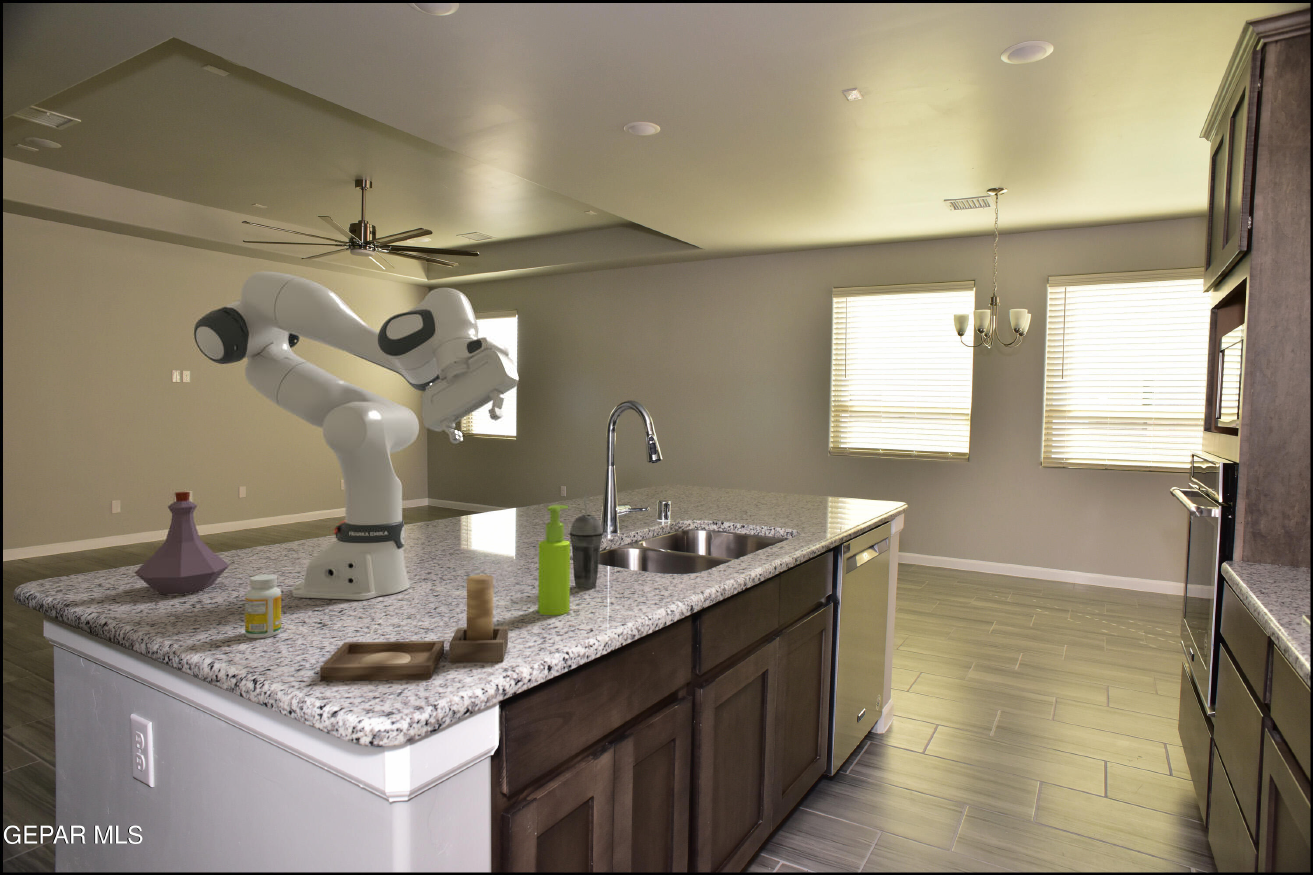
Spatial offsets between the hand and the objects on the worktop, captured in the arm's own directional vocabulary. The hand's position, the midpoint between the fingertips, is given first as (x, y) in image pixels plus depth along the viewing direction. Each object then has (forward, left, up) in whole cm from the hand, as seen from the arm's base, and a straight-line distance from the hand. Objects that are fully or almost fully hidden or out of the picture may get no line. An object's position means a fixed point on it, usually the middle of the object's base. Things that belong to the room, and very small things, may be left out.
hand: (476, 430), depth 132 cm
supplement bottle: (-34, -5, -35) cm, 49 cm away
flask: (-62, +26, -35) cm, 76 cm away
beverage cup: (+20, +25, -35) cm, 47 cm away
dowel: (+3, -17, -34) cm, 39 cm away
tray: (-10, -22, -34) cm, 42 cm away
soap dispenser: (+14, +7, -35) cm, 38 cm away
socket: (+3, -17, -34) cm, 39 cm away
